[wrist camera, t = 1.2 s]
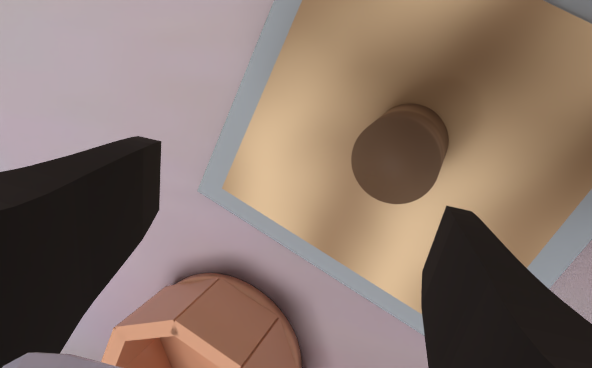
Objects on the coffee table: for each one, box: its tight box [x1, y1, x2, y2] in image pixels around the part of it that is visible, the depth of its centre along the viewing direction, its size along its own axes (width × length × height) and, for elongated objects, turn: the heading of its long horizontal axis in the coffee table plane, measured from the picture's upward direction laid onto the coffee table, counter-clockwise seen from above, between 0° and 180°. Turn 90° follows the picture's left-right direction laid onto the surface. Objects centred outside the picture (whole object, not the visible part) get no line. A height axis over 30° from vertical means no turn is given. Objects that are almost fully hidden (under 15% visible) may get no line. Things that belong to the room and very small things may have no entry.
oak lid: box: [222, 0, 592, 314], centre depth 19 cm, size 13×13×4 cm
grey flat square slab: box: [198, 0, 592, 336], centre depth 21 cm, size 16×16×1 cm
